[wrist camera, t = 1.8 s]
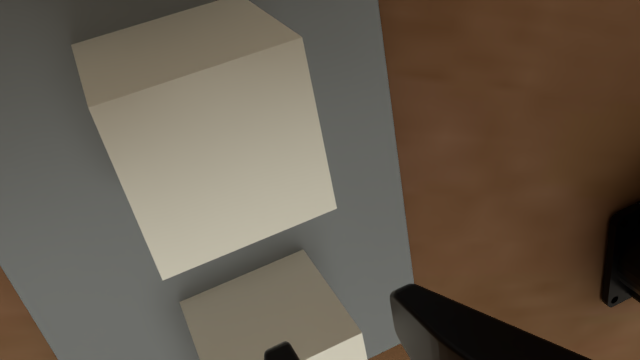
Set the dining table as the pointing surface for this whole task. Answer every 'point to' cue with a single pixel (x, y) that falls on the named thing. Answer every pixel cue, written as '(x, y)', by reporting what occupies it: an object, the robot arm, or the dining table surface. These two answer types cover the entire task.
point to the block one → (273, 315)
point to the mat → (116, 213)
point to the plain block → (208, 129)
